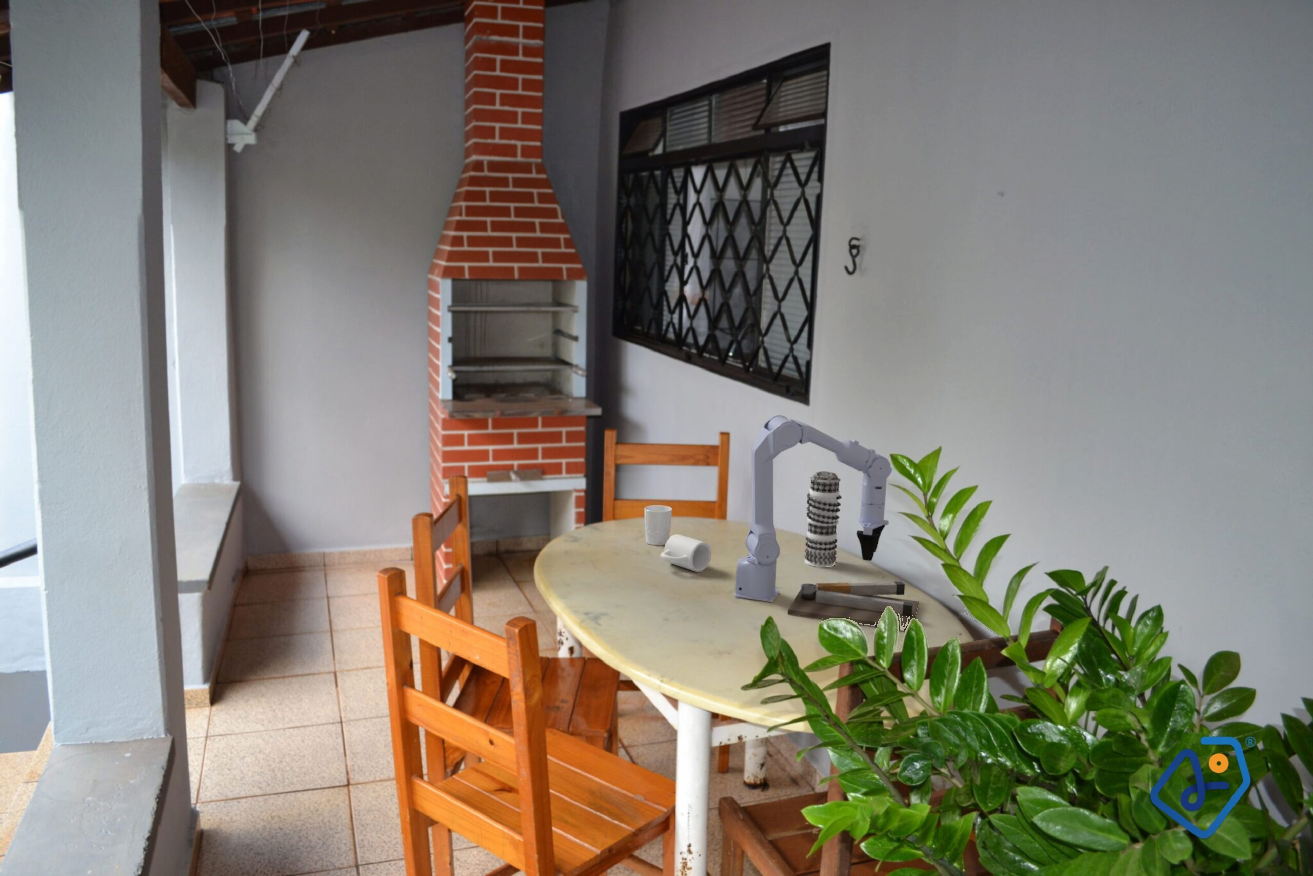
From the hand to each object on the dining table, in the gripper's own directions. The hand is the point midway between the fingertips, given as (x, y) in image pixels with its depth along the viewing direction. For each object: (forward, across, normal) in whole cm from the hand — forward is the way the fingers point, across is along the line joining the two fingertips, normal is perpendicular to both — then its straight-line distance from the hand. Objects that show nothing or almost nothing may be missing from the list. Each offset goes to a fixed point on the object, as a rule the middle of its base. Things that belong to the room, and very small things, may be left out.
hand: (869, 555), depth 241 cm
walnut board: (+9, -14, +1) cm, 17 cm away
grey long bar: (+8, -15, -1) cm, 17 cm away
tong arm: (+8, -9, +2) cm, 12 cm away
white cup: (+10, +19, +62) cm, 66 cm away
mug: (+10, -1, +48) cm, 49 cm away
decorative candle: (+10, +19, +15) cm, 26 cm away
